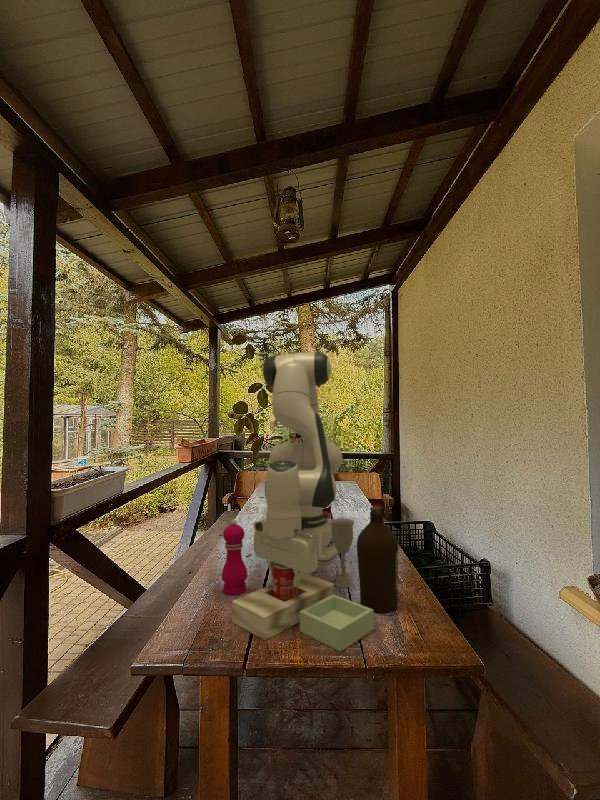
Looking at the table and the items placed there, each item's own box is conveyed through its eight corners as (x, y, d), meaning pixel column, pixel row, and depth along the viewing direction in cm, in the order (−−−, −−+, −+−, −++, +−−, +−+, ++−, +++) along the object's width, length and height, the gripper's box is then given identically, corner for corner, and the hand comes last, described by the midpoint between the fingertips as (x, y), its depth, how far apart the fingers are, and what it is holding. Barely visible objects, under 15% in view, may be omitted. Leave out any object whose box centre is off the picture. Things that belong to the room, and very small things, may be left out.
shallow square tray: (333, 612, 105) (333, 594, 105) (373, 629, 97) (373, 609, 97) (299, 631, 97) (299, 611, 97) (340, 651, 88) (340, 629, 88)
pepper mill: (219, 587, 121) (218, 518, 122) (244, 583, 124) (243, 515, 124) (224, 598, 115) (223, 524, 115) (250, 593, 117) (248, 521, 117)
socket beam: (302, 590, 119) (301, 572, 119) (335, 603, 110) (334, 583, 110) (232, 621, 101) (232, 601, 102) (264, 640, 93) (264, 617, 93)
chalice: (359, 581, 123) (358, 520, 124) (350, 590, 117) (348, 525, 118) (337, 577, 127) (335, 517, 127) (327, 585, 121) (325, 522, 121)
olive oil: (362, 615, 103) (360, 513, 104) (354, 596, 114) (352, 503, 114) (405, 613, 104) (402, 511, 104) (393, 594, 114) (391, 502, 115)
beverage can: (284, 604, 110) (283, 557, 110) (303, 611, 106) (302, 563, 106) (268, 613, 105) (267, 565, 106) (287, 621, 101) (285, 570, 102)
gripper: (323, 531, 101) (324, 589, 101) (267, 517, 116) (268, 568, 115) (304, 537, 97) (306, 598, 96) (249, 522, 111) (250, 574, 111)
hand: (285, 581), depth 106 cm, fingers closed on beverage can, 6 cm apart
